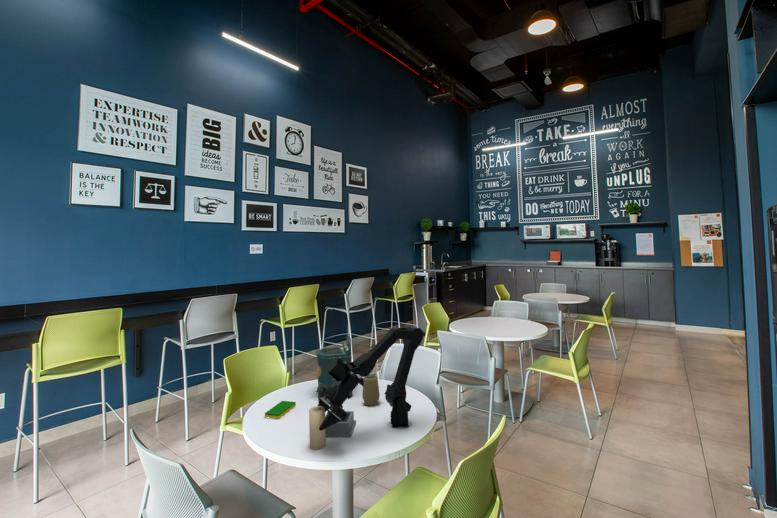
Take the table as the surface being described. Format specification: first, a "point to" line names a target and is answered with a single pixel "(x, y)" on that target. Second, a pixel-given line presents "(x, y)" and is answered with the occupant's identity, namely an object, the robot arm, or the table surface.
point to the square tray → (342, 427)
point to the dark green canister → (328, 356)
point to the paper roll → (317, 428)
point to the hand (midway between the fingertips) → (316, 424)
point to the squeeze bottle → (371, 389)
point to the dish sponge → (280, 409)
